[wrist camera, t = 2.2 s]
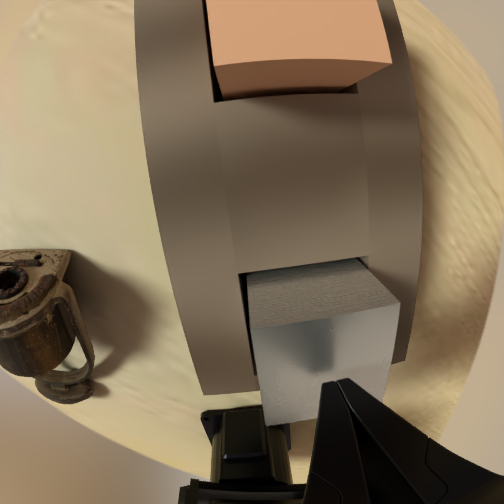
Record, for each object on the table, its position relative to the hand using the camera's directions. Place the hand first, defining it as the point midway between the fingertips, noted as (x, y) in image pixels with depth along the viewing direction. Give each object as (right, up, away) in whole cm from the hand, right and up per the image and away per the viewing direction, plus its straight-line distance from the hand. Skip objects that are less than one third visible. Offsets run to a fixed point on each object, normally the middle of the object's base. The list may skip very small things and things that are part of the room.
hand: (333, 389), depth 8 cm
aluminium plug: (0, +2, +5) cm, 5 cm away
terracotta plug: (-2, +12, +2) cm, 12 cm away
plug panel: (-1, +8, +7) cm, 10 cm away
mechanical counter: (-17, -1, +9) cm, 19 cm away
